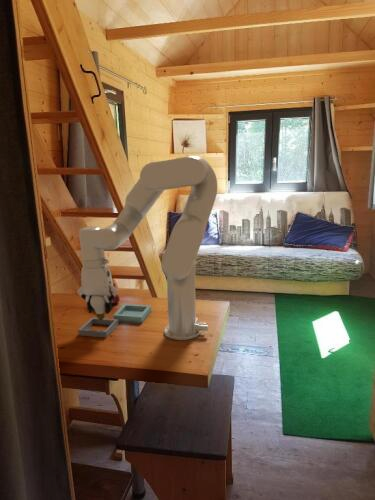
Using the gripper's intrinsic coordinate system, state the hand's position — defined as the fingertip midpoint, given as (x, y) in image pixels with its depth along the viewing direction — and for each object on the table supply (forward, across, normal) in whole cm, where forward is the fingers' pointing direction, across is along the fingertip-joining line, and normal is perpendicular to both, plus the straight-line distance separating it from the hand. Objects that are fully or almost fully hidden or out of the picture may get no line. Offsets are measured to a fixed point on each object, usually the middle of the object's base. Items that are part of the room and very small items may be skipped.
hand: (100, 311), depth 133 cm
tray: (+7, -7, -13) cm, 16 cm away
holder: (+7, +1, 0) cm, 7 cm away
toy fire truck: (+7, +9, -24) cm, 27 cm away
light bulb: (+3, 0, 0) cm, 3 cm away
